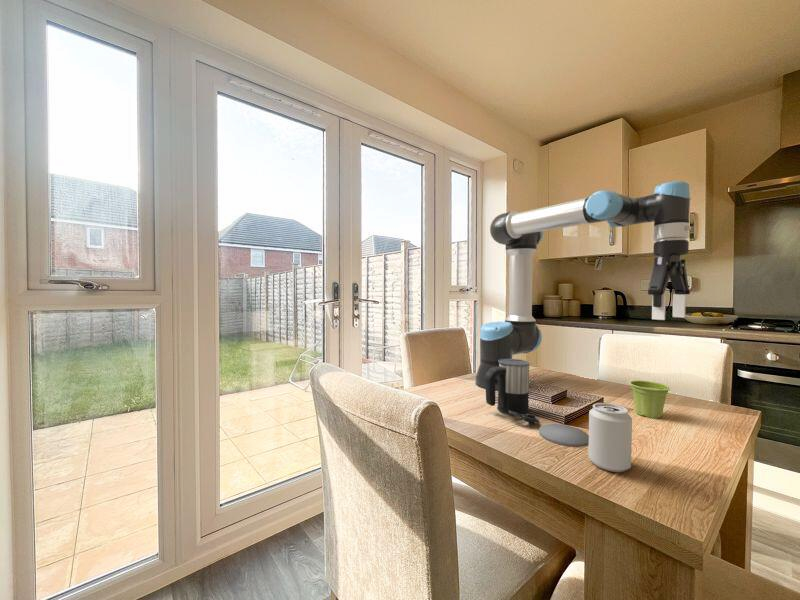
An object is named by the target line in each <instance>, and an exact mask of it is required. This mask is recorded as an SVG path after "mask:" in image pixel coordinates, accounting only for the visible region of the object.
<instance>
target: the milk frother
mask: <svg viewBox="0 0 800 600" xmlns="http://www.w3.org/2000/svg"><path fill="white" fill-rule="evenodd" d="M498 362H499V366H498V367H492V368H490V369H489V370H488V371H487V373H486V376H485V387H486V388H485V401H486V403H487V405H489V406H491V407H492V406H496V390H495V378H496V377H497V376H498V375H499V381H498V390H497V406H496V409H497V410H498V411H499V412H500V413H502V414H505V415H510V416H515V417H517V418H520V419H521V420H524V421H525V422H527V423H528V424H529V425H534V423H536V424H539V423H540V419H538V417H536V415H535V414H533V413H530V407H529V406H530V405H529V402H530V401H529V400H530V399H529V396H530V395H529V392H530V391H529V389H530V388H529V387H530V386H529V385H530V365H531V362H530V361H528V360H524V359H518V358H512V359H500V360H498Z"/></svg>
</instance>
